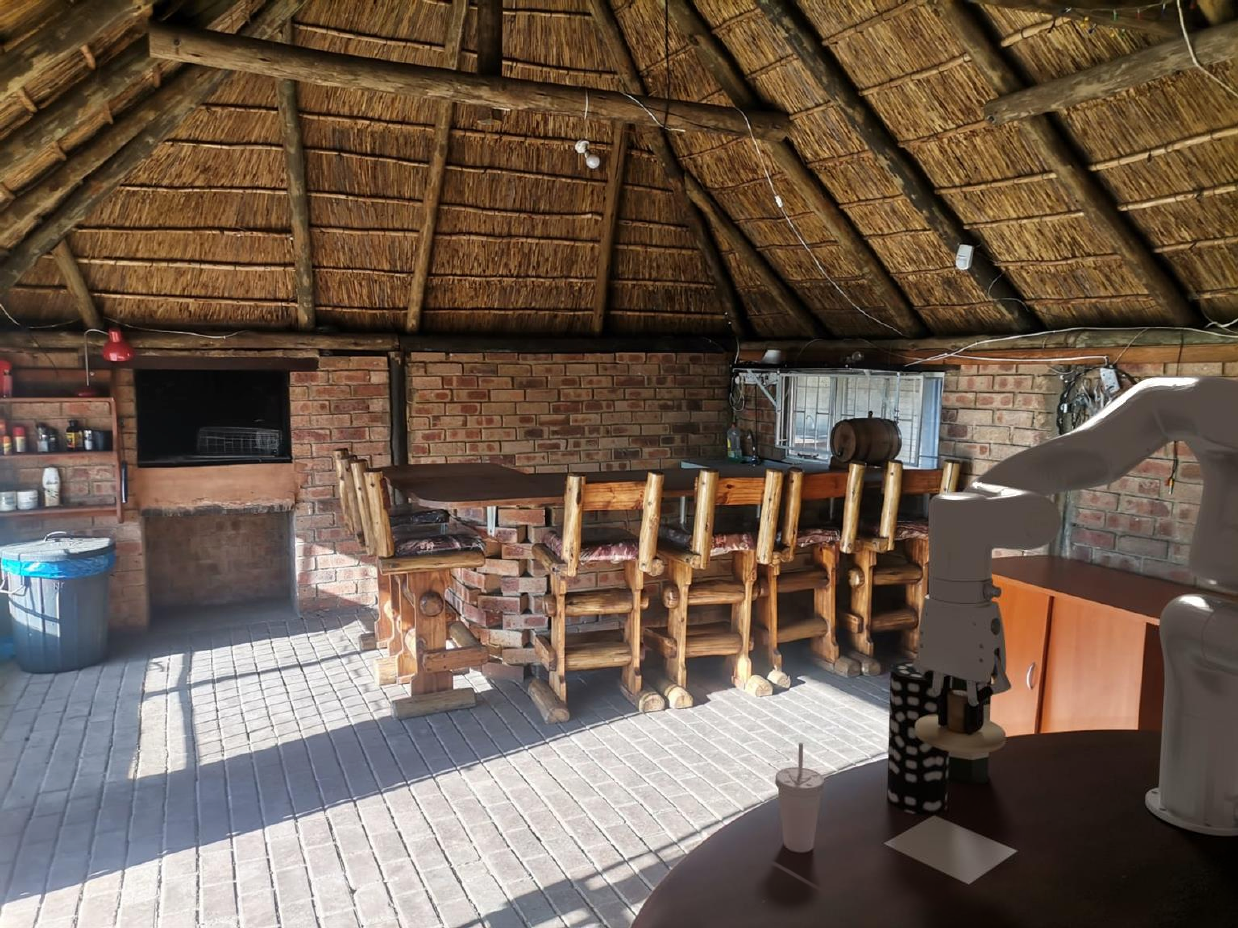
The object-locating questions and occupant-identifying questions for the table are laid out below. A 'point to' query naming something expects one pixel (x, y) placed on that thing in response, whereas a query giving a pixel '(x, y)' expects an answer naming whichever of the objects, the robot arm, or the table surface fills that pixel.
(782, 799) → the smoothie
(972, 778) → the wine bottle
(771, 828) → the table surface
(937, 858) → the mat
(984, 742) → the lid
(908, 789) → the spotted tube
